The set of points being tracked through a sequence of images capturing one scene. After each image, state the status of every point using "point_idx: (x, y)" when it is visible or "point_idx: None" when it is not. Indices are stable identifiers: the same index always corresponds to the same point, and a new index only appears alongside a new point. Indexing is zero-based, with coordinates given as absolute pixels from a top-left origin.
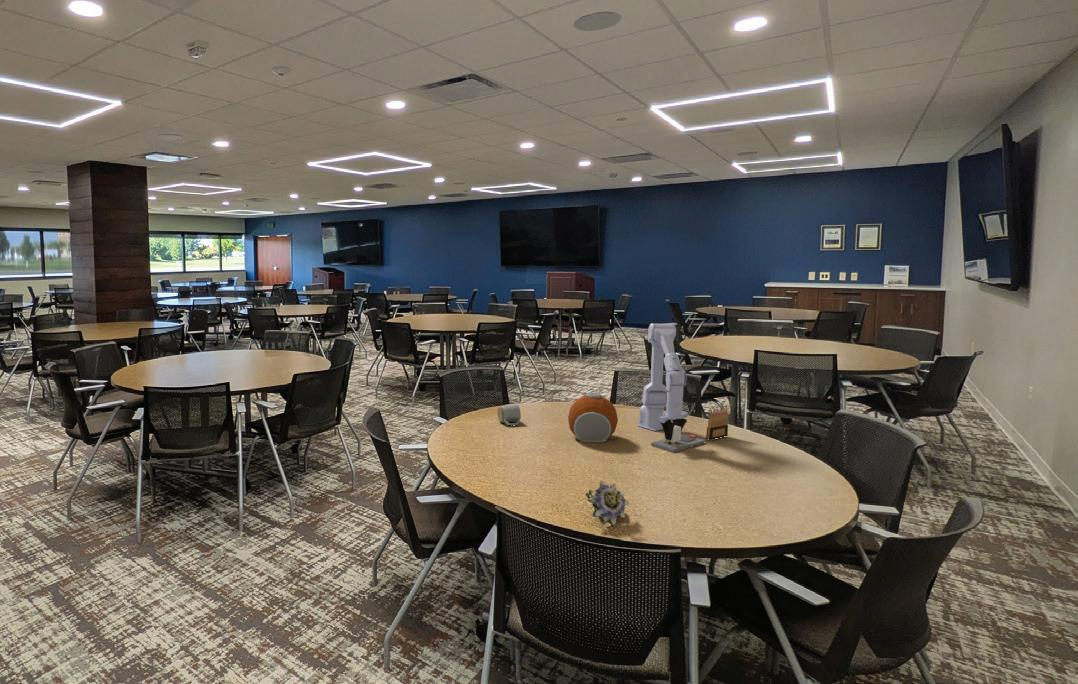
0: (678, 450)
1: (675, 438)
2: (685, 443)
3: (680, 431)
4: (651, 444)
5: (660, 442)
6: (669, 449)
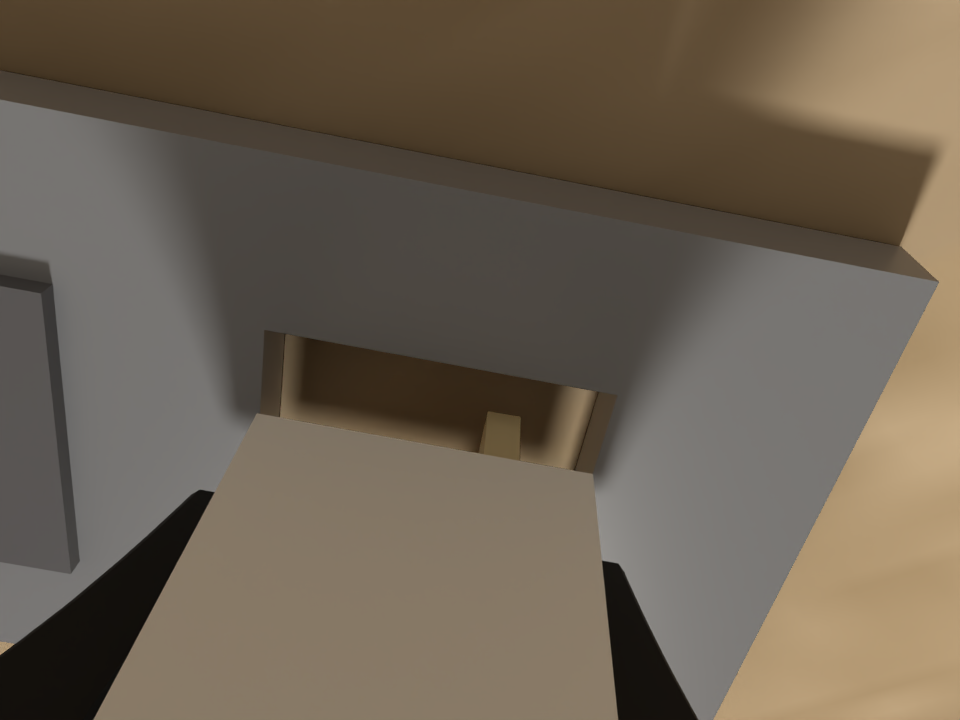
0: (685, 208)
1: (492, 517)
2: (177, 265)
3: (181, 622)
4: None
5: None
6: (870, 372)
